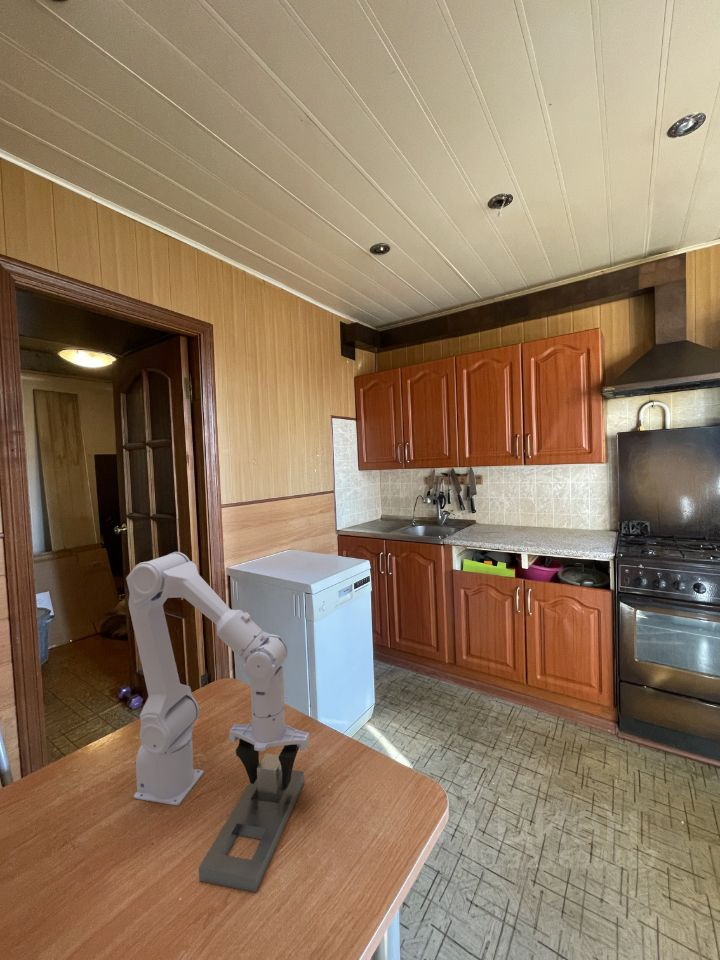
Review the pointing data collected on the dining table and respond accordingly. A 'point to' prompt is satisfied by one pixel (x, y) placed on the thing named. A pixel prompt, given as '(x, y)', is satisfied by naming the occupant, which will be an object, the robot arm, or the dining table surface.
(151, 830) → the dining table surface
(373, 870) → the dining table surface
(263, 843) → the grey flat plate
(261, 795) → the grey square peg
